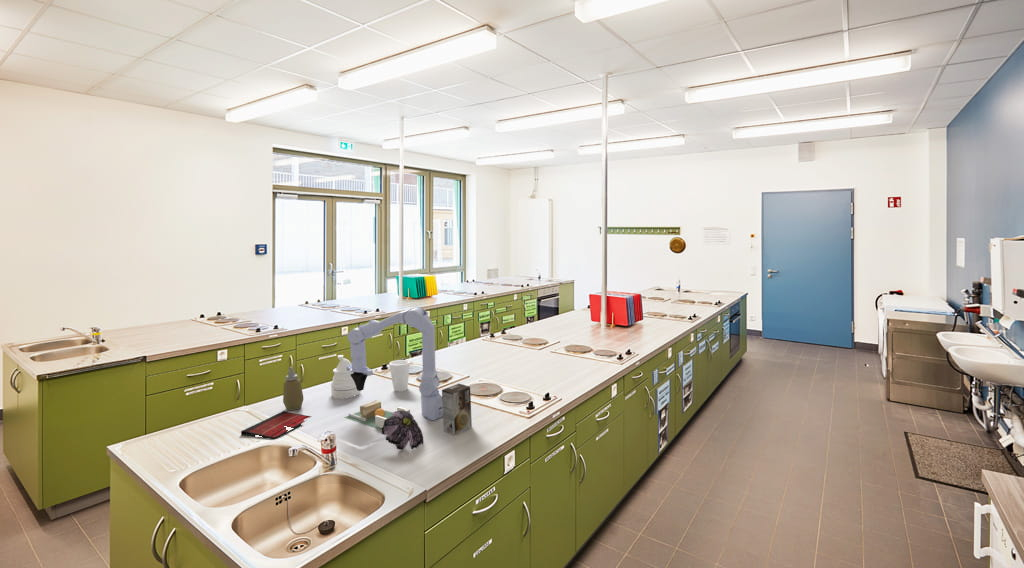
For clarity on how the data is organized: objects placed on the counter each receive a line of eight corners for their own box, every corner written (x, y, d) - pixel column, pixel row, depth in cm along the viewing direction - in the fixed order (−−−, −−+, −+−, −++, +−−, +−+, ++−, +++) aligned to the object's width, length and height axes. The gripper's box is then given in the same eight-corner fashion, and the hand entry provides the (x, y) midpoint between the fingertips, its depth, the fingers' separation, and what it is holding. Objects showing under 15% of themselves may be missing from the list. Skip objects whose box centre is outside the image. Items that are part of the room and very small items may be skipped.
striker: (381, 413, 194) (380, 401, 194) (365, 419, 188) (364, 407, 187) (376, 411, 196) (376, 400, 196) (360, 418, 190) (359, 406, 189)
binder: (240, 430, 178) (282, 410, 198) (240, 436, 178) (282, 415, 198) (275, 436, 173) (315, 415, 193) (276, 442, 173) (315, 421, 193)
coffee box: (460, 423, 184) (458, 383, 182) (472, 427, 180) (471, 386, 178) (442, 431, 177) (441, 389, 175) (454, 435, 173) (453, 392, 171)
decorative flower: (391, 429, 156) (384, 402, 169) (380, 458, 159) (375, 429, 172) (432, 431, 163) (423, 406, 176) (422, 459, 166) (413, 432, 179)
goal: (410, 419, 187) (409, 409, 187) (386, 429, 178) (386, 419, 177) (399, 416, 191) (398, 406, 191) (375, 426, 182) (375, 415, 181)
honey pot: (325, 397, 218) (323, 358, 217) (343, 388, 231) (341, 351, 229) (349, 399, 215) (347, 360, 213) (366, 390, 227) (364, 353, 225)
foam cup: (413, 386, 231) (412, 359, 230) (407, 392, 222) (406, 365, 221) (394, 386, 232) (393, 359, 231) (387, 392, 223) (386, 365, 222)
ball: (387, 418, 189) (386, 408, 189) (379, 421, 186) (378, 411, 186) (380, 416, 192) (380, 406, 191) (372, 419, 188) (372, 409, 188)
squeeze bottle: (296, 412, 200) (293, 370, 198) (279, 411, 202) (276, 369, 200) (308, 405, 208) (305, 365, 206) (291, 404, 210) (288, 364, 208)
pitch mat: (413, 420, 188) (413, 416, 188) (385, 433, 177) (385, 428, 176) (372, 408, 202) (372, 404, 202) (344, 419, 191) (343, 414, 191)
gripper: (339, 357, 194) (341, 389, 195) (361, 362, 186) (363, 396, 187) (353, 353, 200) (355, 385, 201) (376, 358, 191) (378, 391, 193)
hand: (360, 390), depth 195 cm, fingers closed
